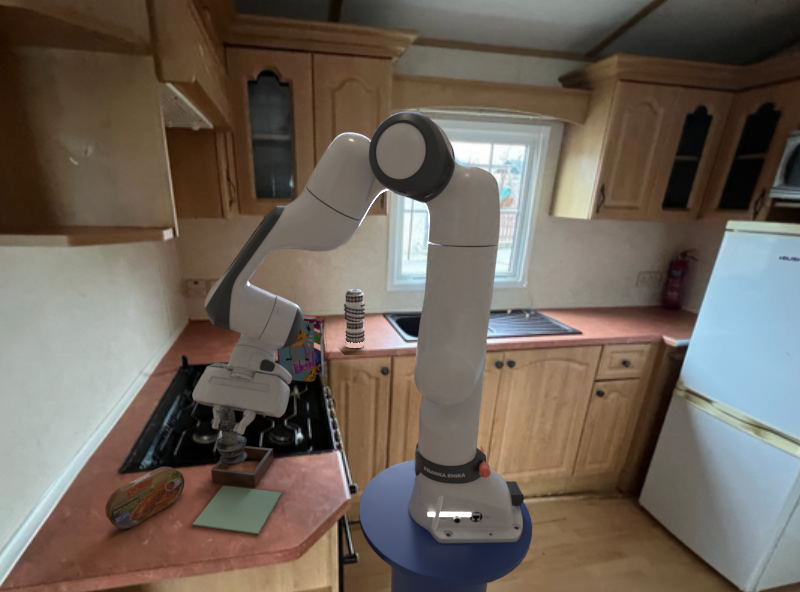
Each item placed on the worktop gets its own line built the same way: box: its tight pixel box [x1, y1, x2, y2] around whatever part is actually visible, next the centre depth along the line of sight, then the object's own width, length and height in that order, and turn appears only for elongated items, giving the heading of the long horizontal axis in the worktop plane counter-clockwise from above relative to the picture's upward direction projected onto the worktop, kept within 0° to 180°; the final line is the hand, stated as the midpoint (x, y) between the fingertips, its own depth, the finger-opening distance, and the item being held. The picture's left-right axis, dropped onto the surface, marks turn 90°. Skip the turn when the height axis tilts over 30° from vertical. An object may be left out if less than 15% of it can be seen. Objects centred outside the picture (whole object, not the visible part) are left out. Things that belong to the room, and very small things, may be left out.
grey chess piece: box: [215, 405, 247, 467], centre depth 81 cm, size 6×6×12 cm
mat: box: [192, 485, 282, 535], centre depth 86 cm, size 14×12×1 cm
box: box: [276, 314, 330, 389], centre depth 143 cm, size 25×6×24 cm, turn 73°
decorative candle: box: [343, 288, 366, 343], centre depth 178 cm, size 9×9×25 cm
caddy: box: [210, 445, 275, 488], centre depth 98 cm, size 11×11×3 cm
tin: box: [104, 466, 185, 530], centre depth 84 cm, size 15×3×8 cm, turn 143°
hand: (227, 431), depth 80 cm, fingers closed on grey chess piece, 3 cm apart
